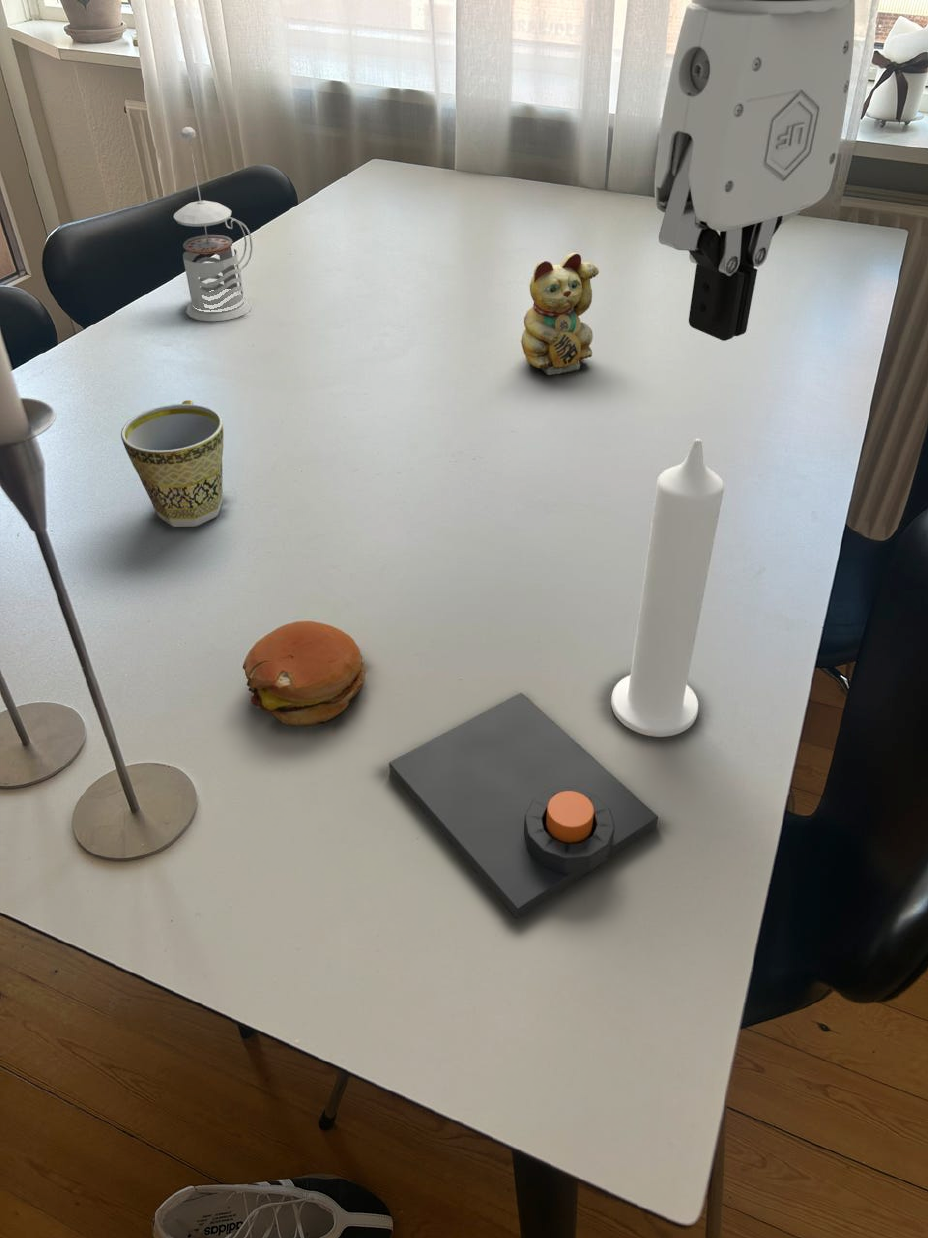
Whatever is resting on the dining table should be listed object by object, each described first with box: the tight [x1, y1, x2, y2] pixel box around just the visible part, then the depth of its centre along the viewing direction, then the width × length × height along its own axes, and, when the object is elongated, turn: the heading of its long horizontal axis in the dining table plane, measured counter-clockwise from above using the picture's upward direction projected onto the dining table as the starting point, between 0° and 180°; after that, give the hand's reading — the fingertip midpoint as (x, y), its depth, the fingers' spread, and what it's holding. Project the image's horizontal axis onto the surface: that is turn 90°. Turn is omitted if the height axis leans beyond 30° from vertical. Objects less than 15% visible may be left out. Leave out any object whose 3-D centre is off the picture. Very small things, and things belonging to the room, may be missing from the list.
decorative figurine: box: [520, 252, 600, 376], centre depth 125 cm, size 10×8×15 cm
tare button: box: [546, 791, 594, 843], centre depth 67 cm, size 3×3×2 cm
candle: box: [610, 438, 725, 738], centre depth 72 cm, size 7×7×25 cm
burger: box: [242, 620, 366, 727], centre depth 81 cm, size 10×9×5 cm
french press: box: [173, 126, 253, 322], centre depth 138 cm, size 10×12×25 cm
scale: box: [388, 692, 659, 920], centre depth 71 cm, size 16×13×3 cm
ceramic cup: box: [120, 399, 224, 528], centre depth 101 cm, size 13×10×10 cm
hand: (716, 329), depth 59 cm, fingers closed
